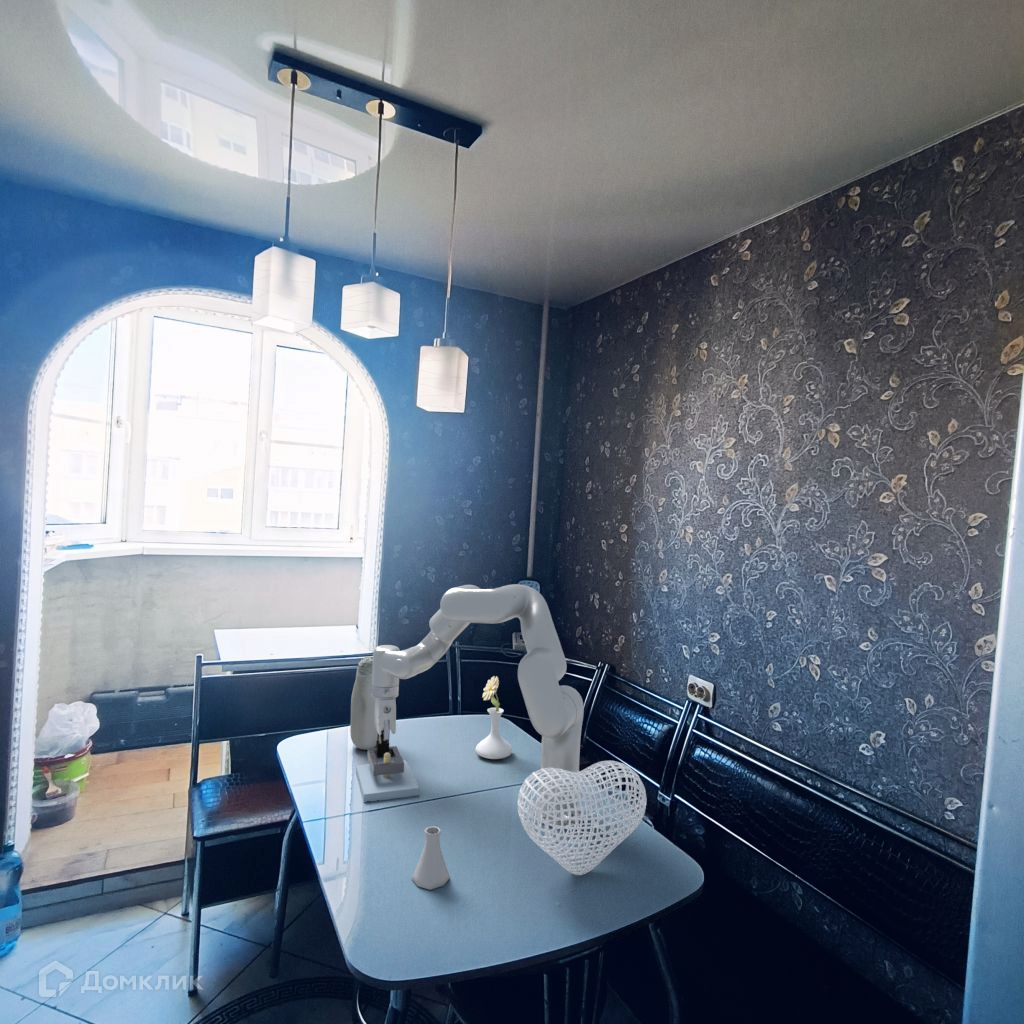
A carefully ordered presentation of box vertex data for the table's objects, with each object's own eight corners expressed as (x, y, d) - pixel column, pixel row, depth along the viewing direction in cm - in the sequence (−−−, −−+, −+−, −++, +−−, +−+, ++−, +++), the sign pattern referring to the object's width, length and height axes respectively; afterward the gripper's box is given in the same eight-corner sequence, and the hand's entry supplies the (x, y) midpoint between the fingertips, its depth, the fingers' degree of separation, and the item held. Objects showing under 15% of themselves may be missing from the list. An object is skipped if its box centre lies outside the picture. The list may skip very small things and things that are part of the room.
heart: (531, 909, 116) (536, 792, 116) (503, 864, 130) (508, 760, 130) (658, 883, 126) (662, 775, 126) (619, 843, 140) (623, 747, 140)
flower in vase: (476, 747, 194) (480, 667, 194) (513, 749, 193) (516, 669, 193) (472, 764, 181) (476, 679, 181) (511, 766, 180) (514, 681, 180)
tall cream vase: (350, 742, 193) (354, 653, 193) (383, 741, 195) (387, 653, 195) (348, 754, 184) (351, 661, 183) (382, 753, 186) (386, 661, 185)
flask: (431, 864, 129) (433, 817, 129) (456, 878, 125) (458, 829, 125) (405, 879, 124) (407, 830, 124) (430, 895, 119) (432, 844, 119)
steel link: (403, 772, 164) (404, 763, 164) (373, 775, 161) (373, 766, 161) (396, 754, 175) (396, 746, 175) (367, 757, 172) (367, 748, 172)
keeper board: (418, 795, 160) (419, 763, 160) (363, 802, 155) (364, 769, 155) (405, 767, 177) (406, 738, 177) (355, 772, 172) (357, 742, 172)
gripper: (403, 697, 167) (400, 765, 167) (393, 681, 181) (391, 743, 181) (375, 699, 164) (372, 768, 164) (367, 683, 179) (365, 746, 179)
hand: (382, 755), depth 173 cm, fingers closed on steel link, 1 cm apart
